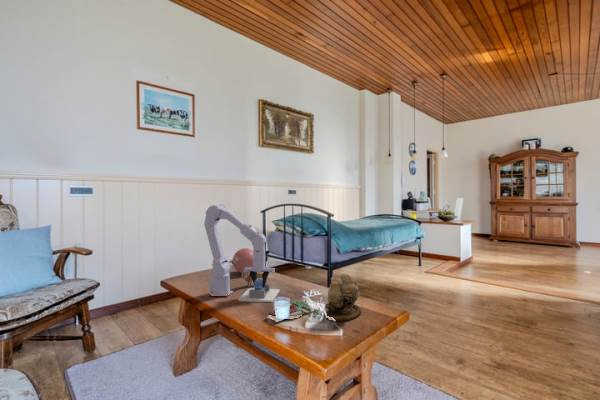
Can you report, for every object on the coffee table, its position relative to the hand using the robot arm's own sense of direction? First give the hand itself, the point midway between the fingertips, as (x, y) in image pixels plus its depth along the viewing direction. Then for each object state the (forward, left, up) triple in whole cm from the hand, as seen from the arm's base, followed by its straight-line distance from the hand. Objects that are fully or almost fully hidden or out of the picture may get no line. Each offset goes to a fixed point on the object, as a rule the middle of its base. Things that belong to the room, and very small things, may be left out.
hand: (259, 287), depth 146 cm
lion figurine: (-7, +15, -4) cm, 17 cm away
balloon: (-21, +37, -4) cm, 43 cm away
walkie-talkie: (+19, -21, -5) cm, 29 cm away
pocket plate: (0, 0, -4) cm, 4 cm away
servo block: (0, 0, -2) cm, 2 cm away
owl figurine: (+40, -18, -4) cm, 44 cm away
